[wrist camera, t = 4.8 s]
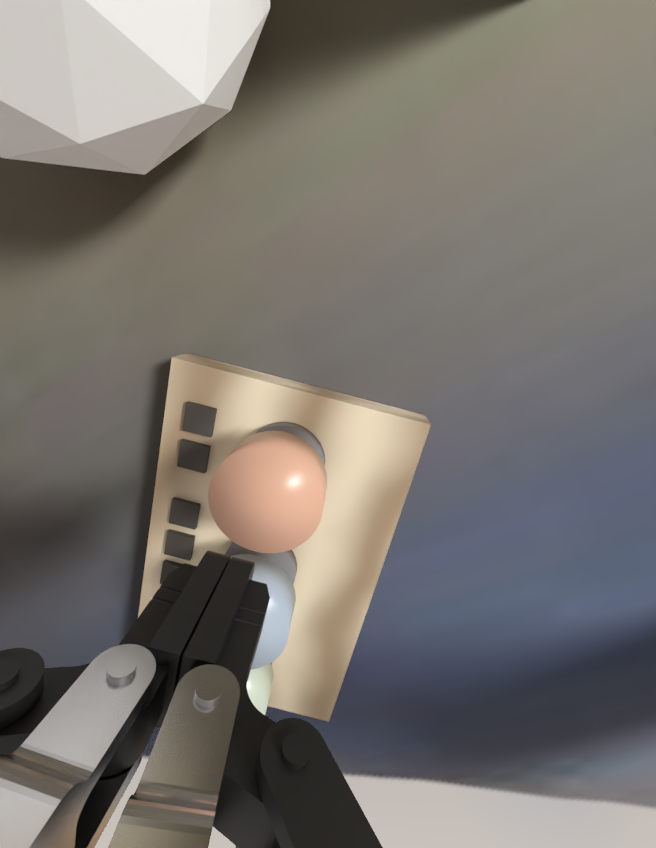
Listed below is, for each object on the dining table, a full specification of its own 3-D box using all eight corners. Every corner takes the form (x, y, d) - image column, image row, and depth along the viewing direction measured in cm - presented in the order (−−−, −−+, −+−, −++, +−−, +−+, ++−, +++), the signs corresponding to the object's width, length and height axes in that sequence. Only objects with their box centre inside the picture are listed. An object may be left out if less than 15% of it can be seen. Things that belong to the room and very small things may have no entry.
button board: (424, 415, 22) (434, 429, 20) (330, 694, 29) (328, 733, 26) (187, 353, 22) (164, 359, 20) (146, 646, 29) (124, 681, 26)
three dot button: (304, 567, 20) (298, 600, 18) (284, 641, 22) (276, 680, 19) (212, 543, 20) (193, 573, 18) (198, 618, 22) (179, 655, 19)
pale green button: (281, 651, 23) (272, 688, 21) (264, 710, 25) (255, 751, 23) (200, 630, 23) (183, 665, 21) (189, 691, 25) (172, 729, 23)
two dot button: (338, 445, 18) (336, 465, 16) (313, 535, 20) (308, 565, 17) (235, 418, 18) (218, 434, 16) (218, 510, 20) (200, 537, 17)
